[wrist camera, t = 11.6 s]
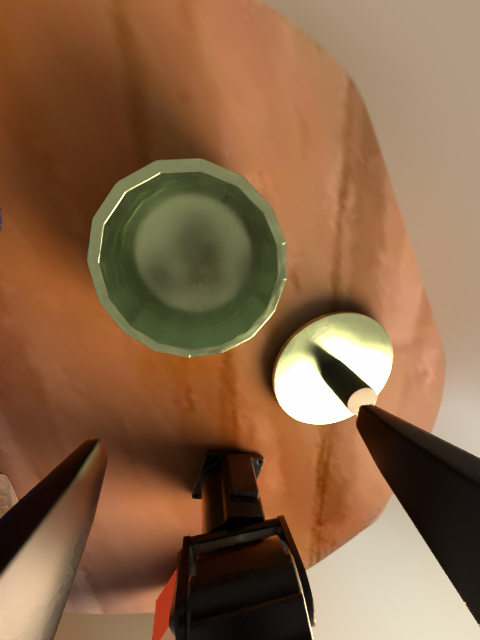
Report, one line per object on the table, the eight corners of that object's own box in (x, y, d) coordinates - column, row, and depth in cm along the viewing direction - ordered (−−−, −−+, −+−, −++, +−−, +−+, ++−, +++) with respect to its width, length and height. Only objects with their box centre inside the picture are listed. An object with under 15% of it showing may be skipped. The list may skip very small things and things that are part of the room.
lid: (351, 422, 27) (385, 464, 22) (252, 407, 24) (267, 452, 19) (405, 326, 24) (458, 350, 19) (298, 293, 20) (329, 312, 16)
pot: (241, 343, 21) (252, 370, 17) (103, 312, 18) (76, 336, 14) (287, 211, 18) (314, 205, 14) (130, 149, 15) (104, 117, 11)
